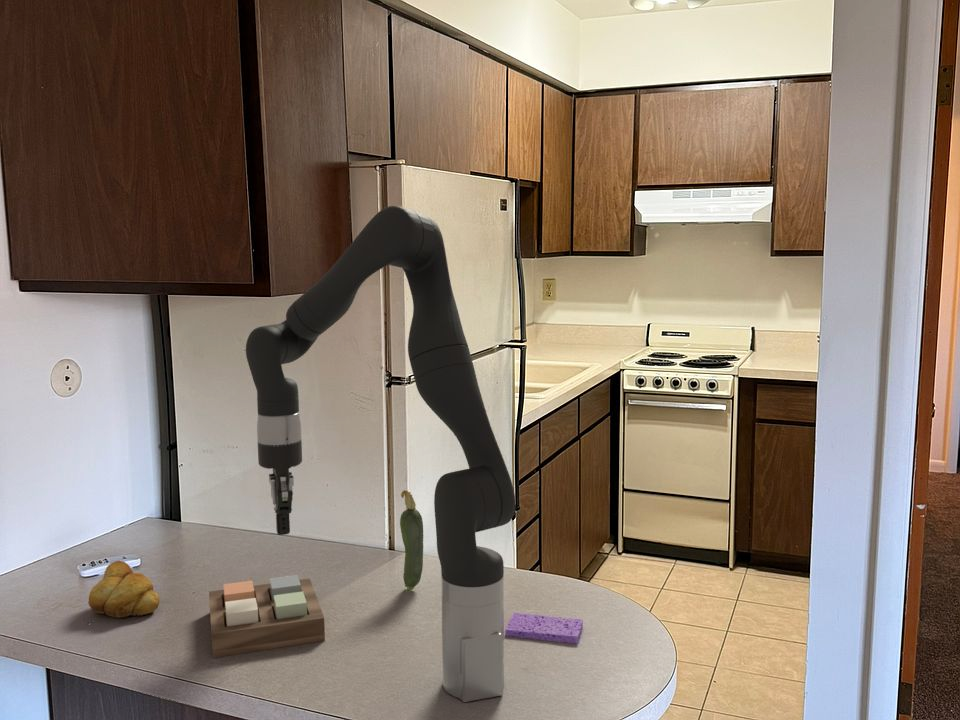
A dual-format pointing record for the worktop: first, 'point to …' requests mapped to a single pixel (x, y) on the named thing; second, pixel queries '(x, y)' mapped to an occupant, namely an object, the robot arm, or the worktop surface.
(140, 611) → the bread roll
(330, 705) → the worktop surface
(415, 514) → the vegetable
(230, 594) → the key terracotta
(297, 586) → the key slate
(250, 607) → the key cream
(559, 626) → the sponges
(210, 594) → the keypad
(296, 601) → the key sage
